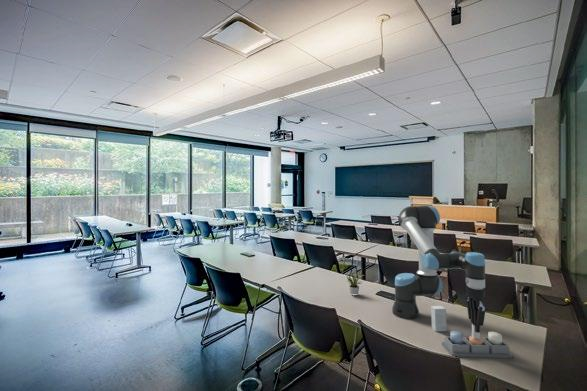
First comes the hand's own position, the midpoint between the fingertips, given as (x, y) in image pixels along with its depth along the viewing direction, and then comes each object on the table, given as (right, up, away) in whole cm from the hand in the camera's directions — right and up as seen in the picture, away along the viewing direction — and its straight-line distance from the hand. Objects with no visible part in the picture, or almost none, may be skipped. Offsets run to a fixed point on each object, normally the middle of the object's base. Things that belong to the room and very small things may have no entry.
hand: (475, 337), depth 131 cm
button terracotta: (0, -4, 0) cm, 4 cm away
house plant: (-39, -6, +74) cm, 84 cm away
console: (0, -6, 0) cm, 6 cm away
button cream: (+9, -2, -1) cm, 9 cm away
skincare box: (-6, -6, +21) cm, 23 cm away
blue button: (-8, -2, +1) cm, 9 cm away
